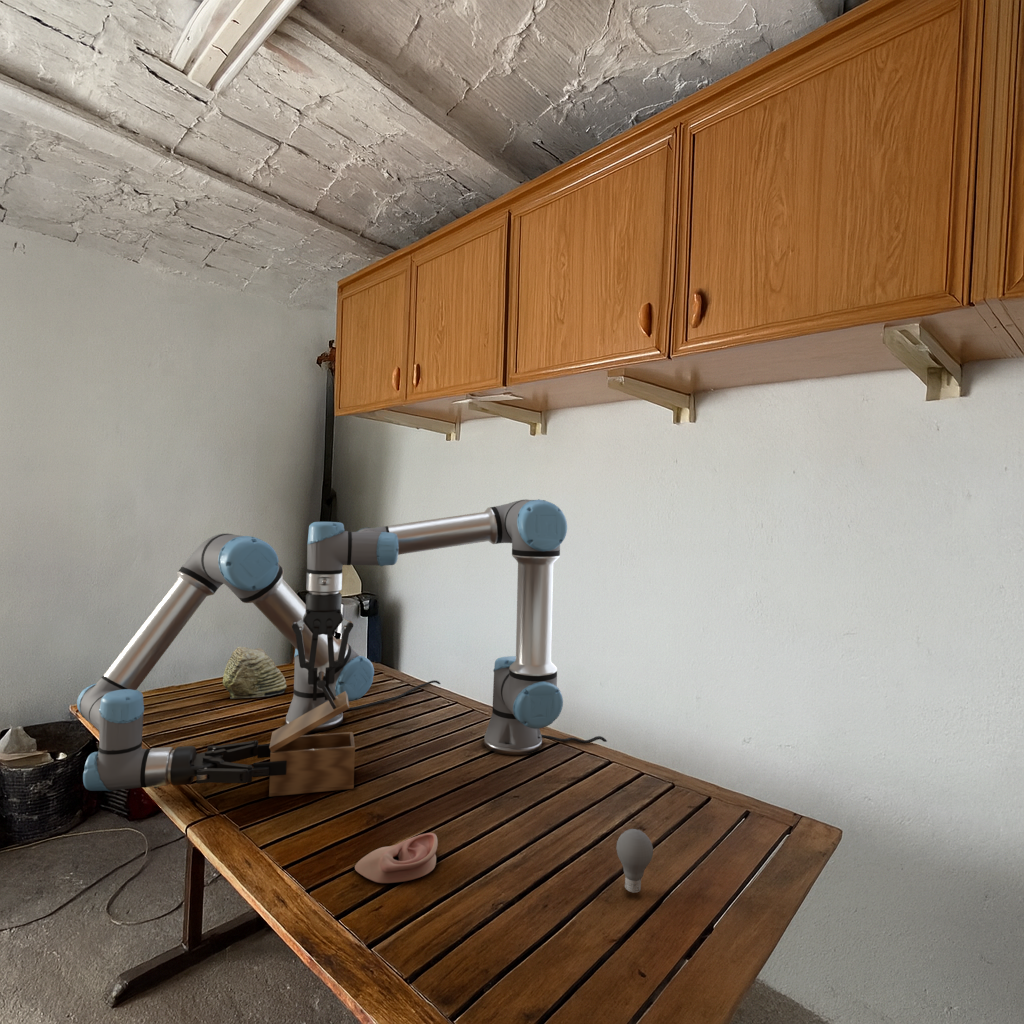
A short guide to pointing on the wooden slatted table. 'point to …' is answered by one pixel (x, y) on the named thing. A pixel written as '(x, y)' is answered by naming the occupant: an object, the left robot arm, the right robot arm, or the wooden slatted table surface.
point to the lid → (310, 717)
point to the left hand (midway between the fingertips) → (287, 758)
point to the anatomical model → (400, 860)
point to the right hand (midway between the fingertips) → (320, 698)
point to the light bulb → (634, 857)
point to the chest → (315, 764)
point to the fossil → (252, 674)
